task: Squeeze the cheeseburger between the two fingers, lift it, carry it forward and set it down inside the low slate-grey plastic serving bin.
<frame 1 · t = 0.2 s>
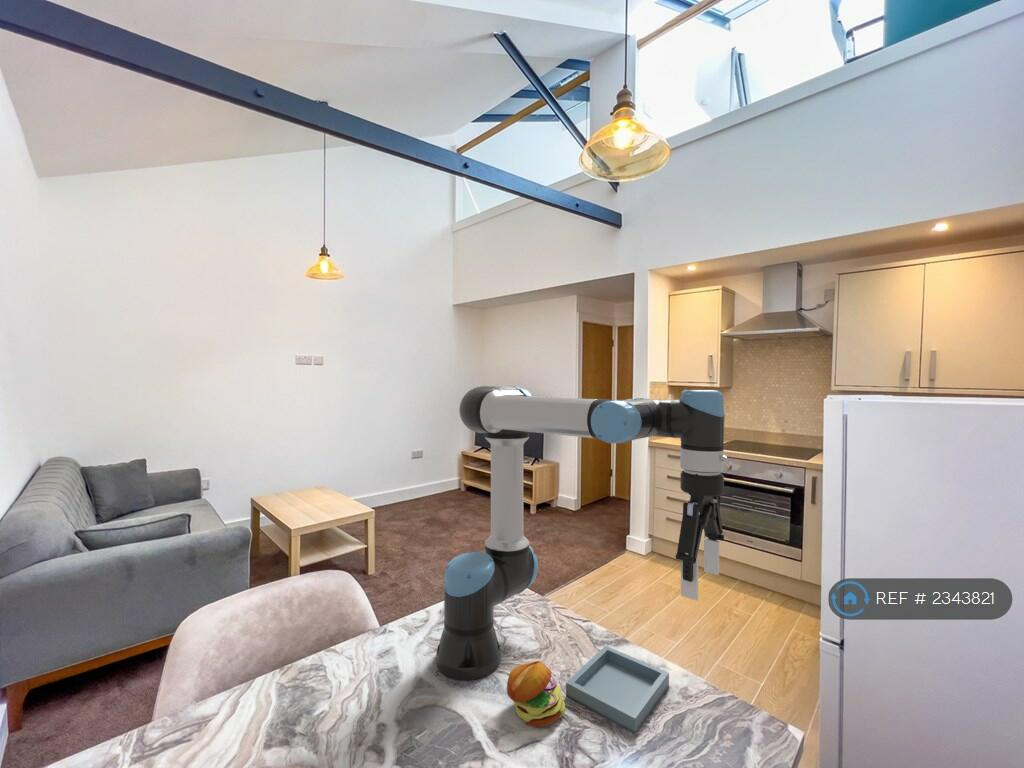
hand: (701, 584, 82), 28 cm above the table, fingers open, 13 cm apart
cheeseburger: (535, 713, 87), on the table
bin: (618, 691, 92), on the table
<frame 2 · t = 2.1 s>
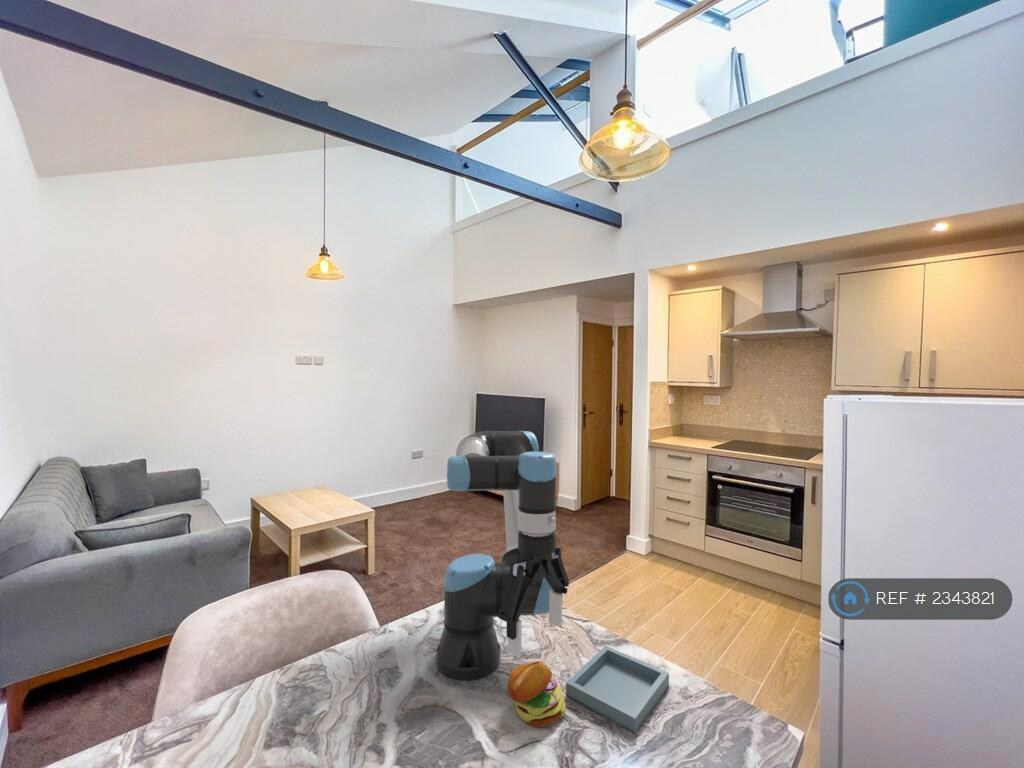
hand: (536, 638, 87), 15 cm above the table, fingers open, 13 cm apart
nothing on the table moved.
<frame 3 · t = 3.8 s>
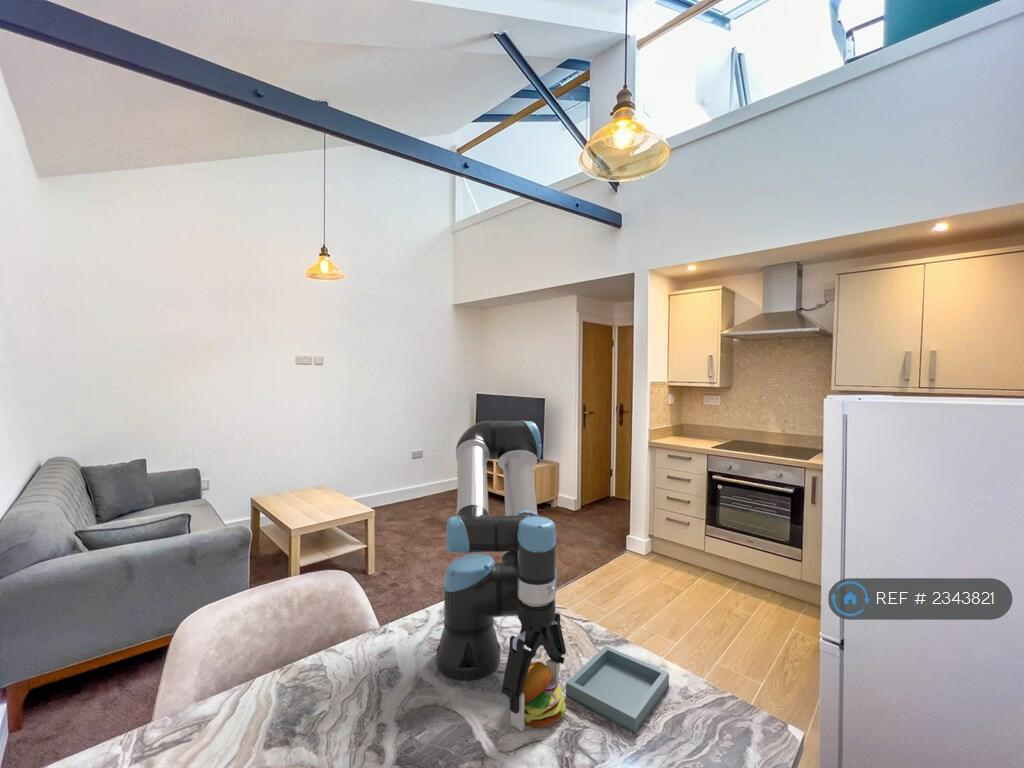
hand: (535, 709, 87), 0 cm above the table, fingers open, 11 cm apart
cheeseburger: (536, 713, 86), on the table, touching gripper
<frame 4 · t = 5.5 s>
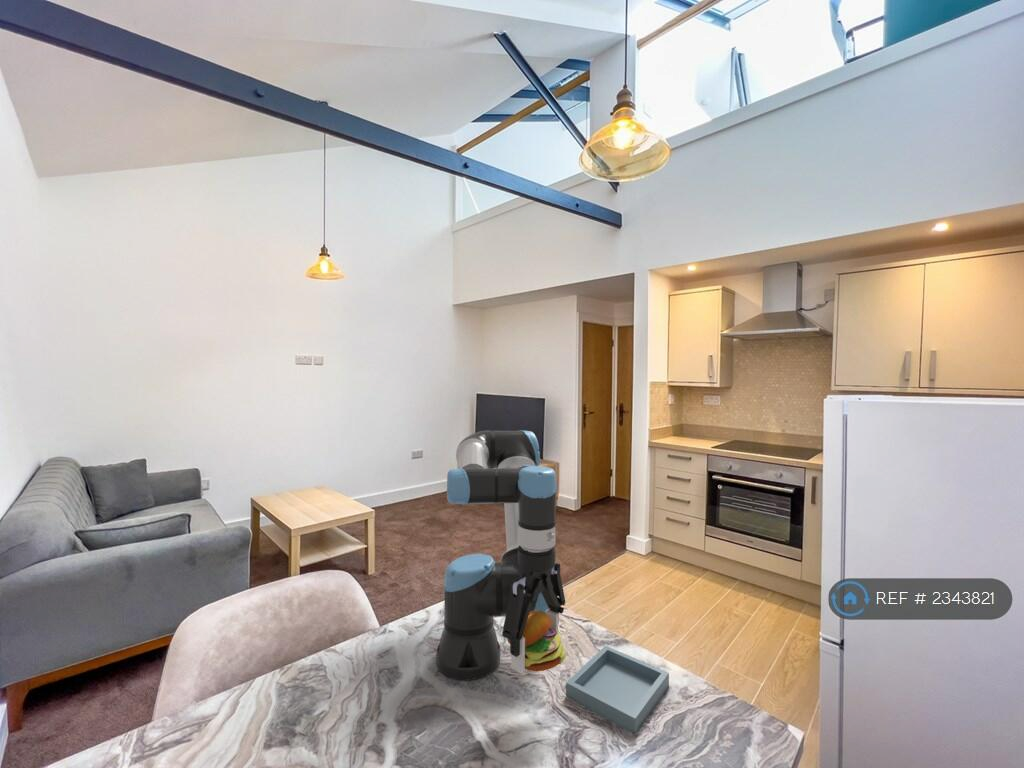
hand: (535, 655, 87), 11 cm above the table, fingers closed on cheeseburger, 10 cm apart
cheeseburger: (535, 660, 87), point 10 cm above the table, touching gripper
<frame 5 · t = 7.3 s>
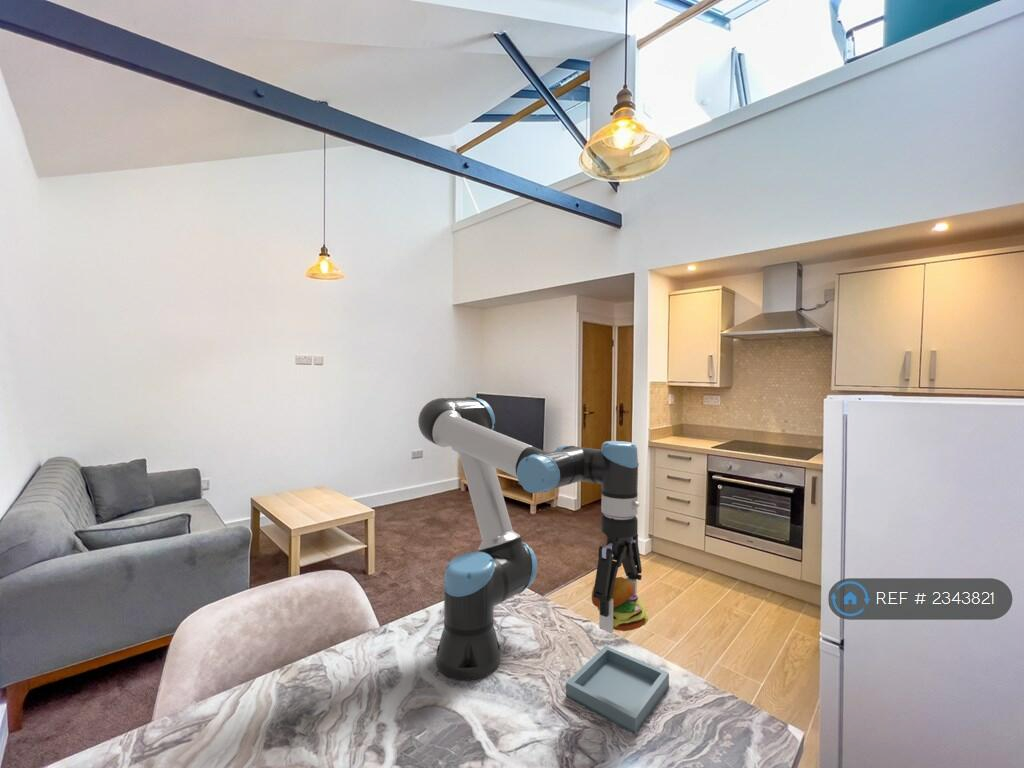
hand: (618, 618, 93), 15 cm above the table, fingers closed on cheeseburger, 10 cm apart
cheeseburger: (619, 622, 92), point 15 cm above the table, touching gripper
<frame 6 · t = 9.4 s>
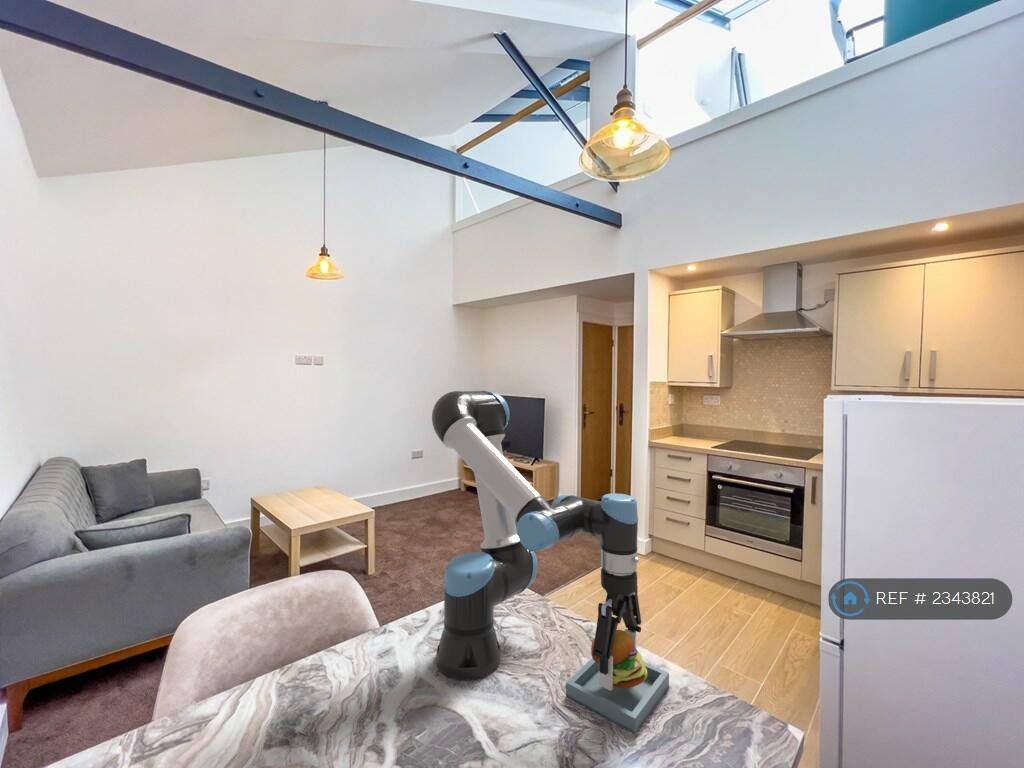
hand: (618, 673, 92), 4 cm above the table, fingers closed on cheeseburger, 10 cm apart
cheeseburger: (618, 677, 92), point 3 cm above the table, touching gripper
when the fingers open (4 cm above the table, at t = 10.3 s): cheeseburger drops 3 cm, resting on bin.
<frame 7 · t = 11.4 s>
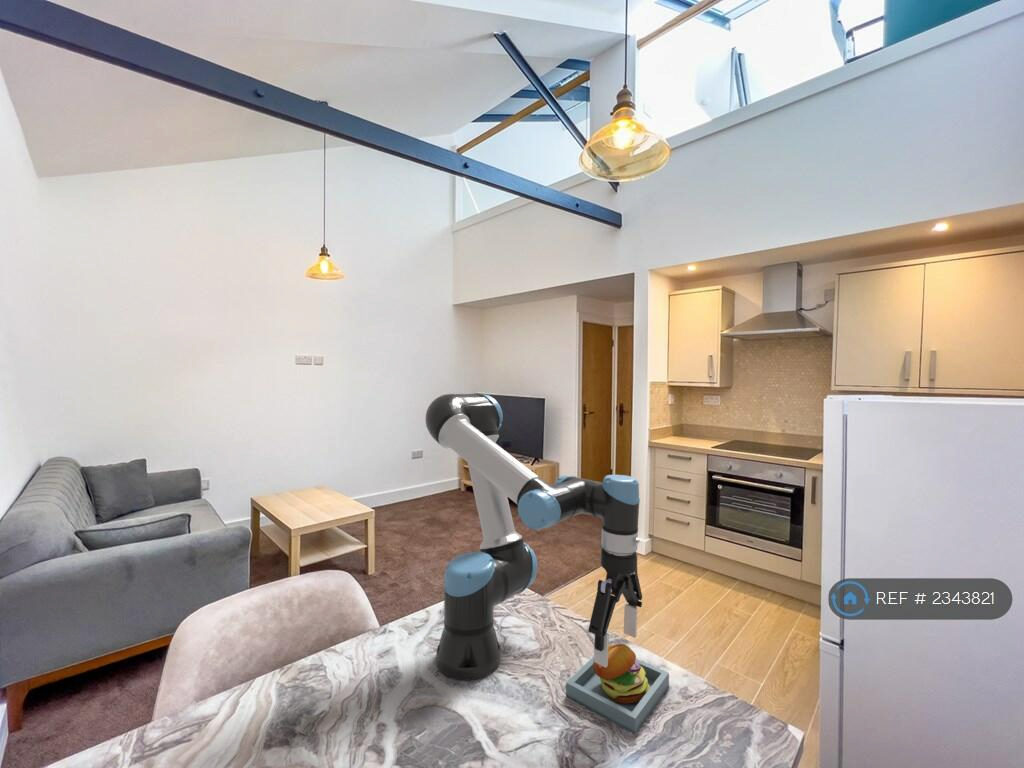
hand: (616, 648, 93), 9 cm above the table, fingers open, 13 cm apart
cheeseburger: (620, 691, 92), resting on bin
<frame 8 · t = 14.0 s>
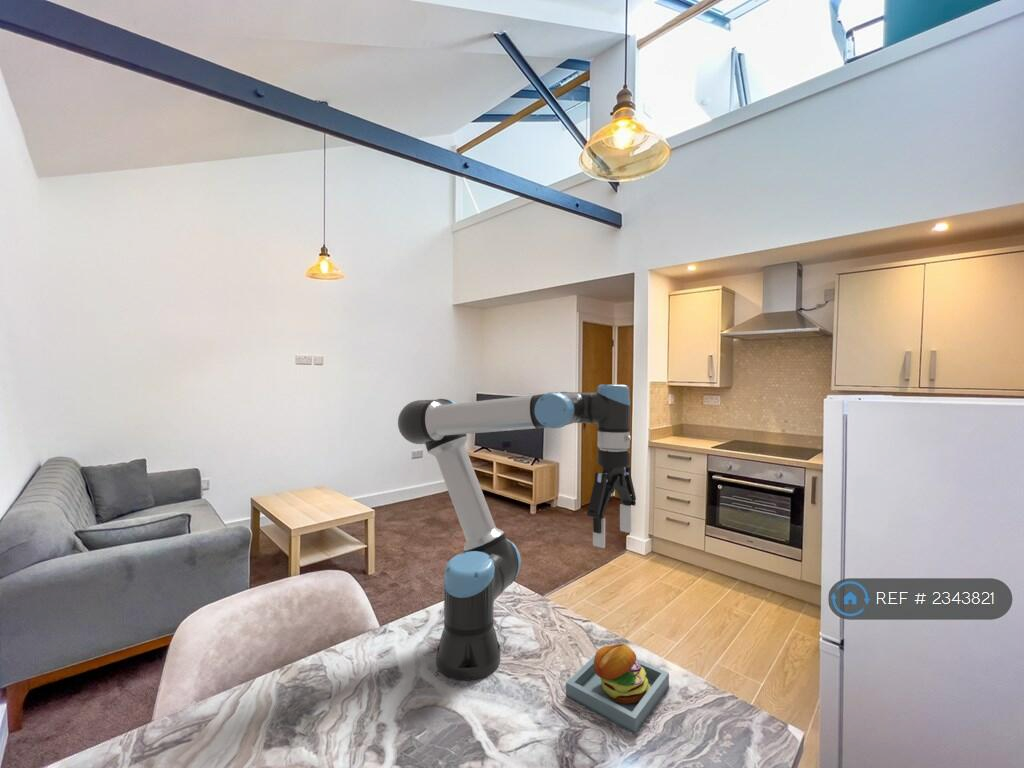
hand: (612, 538, 103), 29 cm above the table, fingers open, 13 cm apart
nothing on the table moved.
at the end: cheeseburger inside the target area on the bin (0.7 cm from its centre), point 0.4 cm above the bin's base; the gripper is holding nothing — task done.
